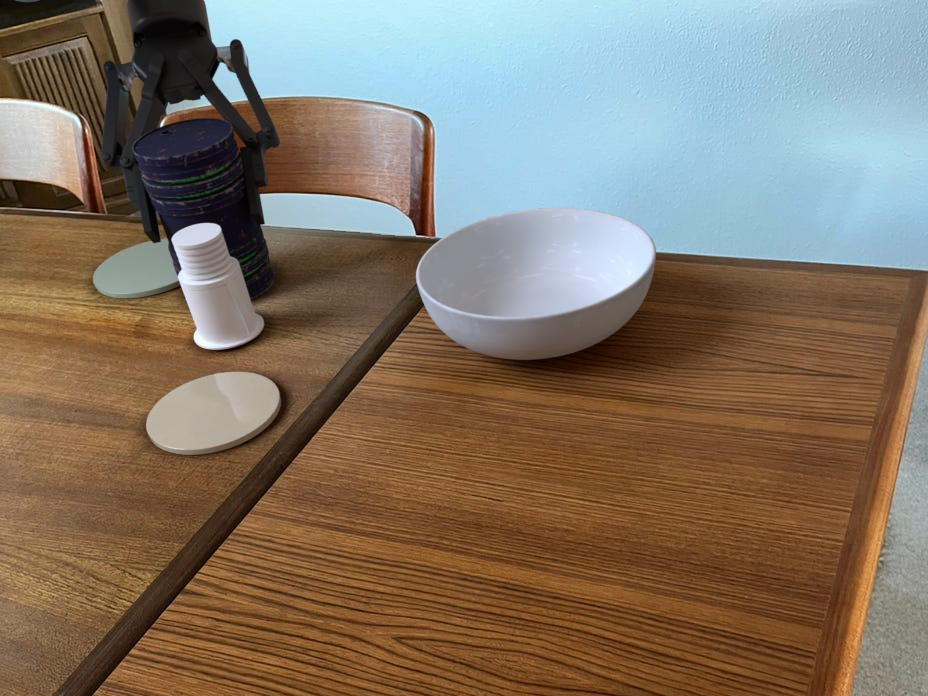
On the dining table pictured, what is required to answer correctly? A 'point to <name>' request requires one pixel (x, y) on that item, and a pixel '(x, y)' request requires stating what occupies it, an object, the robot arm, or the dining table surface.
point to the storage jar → (204, 191)
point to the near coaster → (213, 413)
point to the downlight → (214, 289)
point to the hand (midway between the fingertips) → (205, 228)
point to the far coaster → (137, 271)
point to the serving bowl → (537, 281)
